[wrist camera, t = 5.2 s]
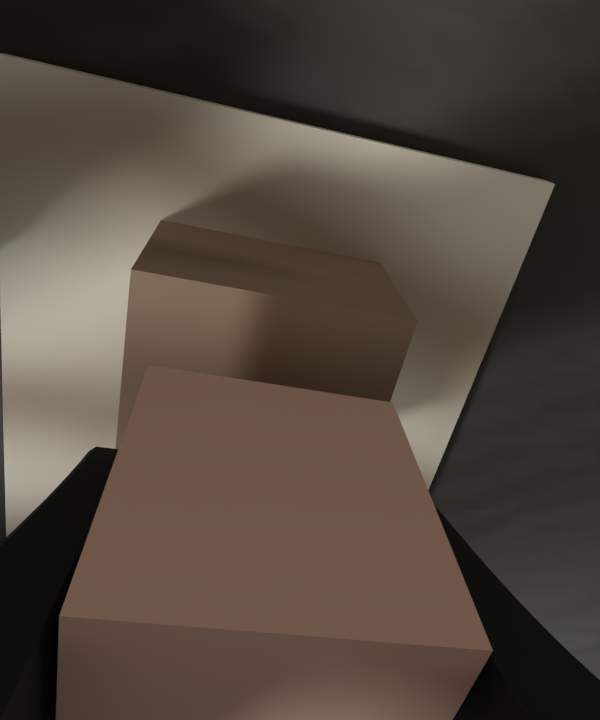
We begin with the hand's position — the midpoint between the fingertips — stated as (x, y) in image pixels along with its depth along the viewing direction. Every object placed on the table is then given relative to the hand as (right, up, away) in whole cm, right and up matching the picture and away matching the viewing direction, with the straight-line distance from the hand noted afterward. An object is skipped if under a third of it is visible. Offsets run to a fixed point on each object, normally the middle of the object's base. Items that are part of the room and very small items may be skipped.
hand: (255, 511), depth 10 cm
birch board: (-1, 0, +9) cm, 9 cm away
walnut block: (0, +3, +6) cm, 7 cm away
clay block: (0, 0, +1) cm, 1 cm away
